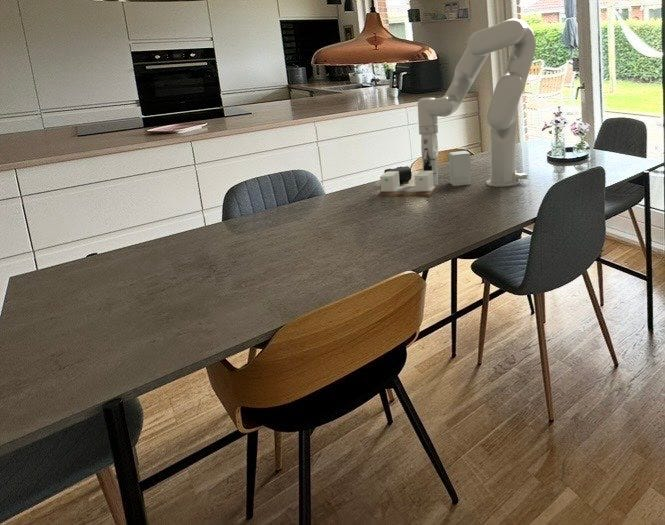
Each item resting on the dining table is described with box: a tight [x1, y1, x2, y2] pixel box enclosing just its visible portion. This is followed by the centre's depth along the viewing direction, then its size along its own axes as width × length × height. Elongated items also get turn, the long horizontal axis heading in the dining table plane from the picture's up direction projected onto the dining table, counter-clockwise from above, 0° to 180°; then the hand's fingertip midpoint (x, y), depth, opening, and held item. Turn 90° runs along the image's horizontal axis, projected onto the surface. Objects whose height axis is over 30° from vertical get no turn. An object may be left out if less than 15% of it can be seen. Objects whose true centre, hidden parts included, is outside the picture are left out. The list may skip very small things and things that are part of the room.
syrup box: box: [421, 150, 439, 186], centre depth 233 cm, size 6×6×14 cm
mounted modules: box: [379, 170, 434, 191], centre depth 224 cm, size 19×9×6 cm, turn 67°
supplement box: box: [448, 150, 472, 187], centre depth 230 cm, size 7×7×13 cm
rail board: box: [377, 185, 438, 198], centre depth 226 cm, size 21×12×2 cm, turn 67°
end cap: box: [383, 165, 413, 184], centre depth 243 cm, size 10×7×7 cm
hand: (430, 173), depth 234 cm, fingers closed on syrup box, 6 cm apart
